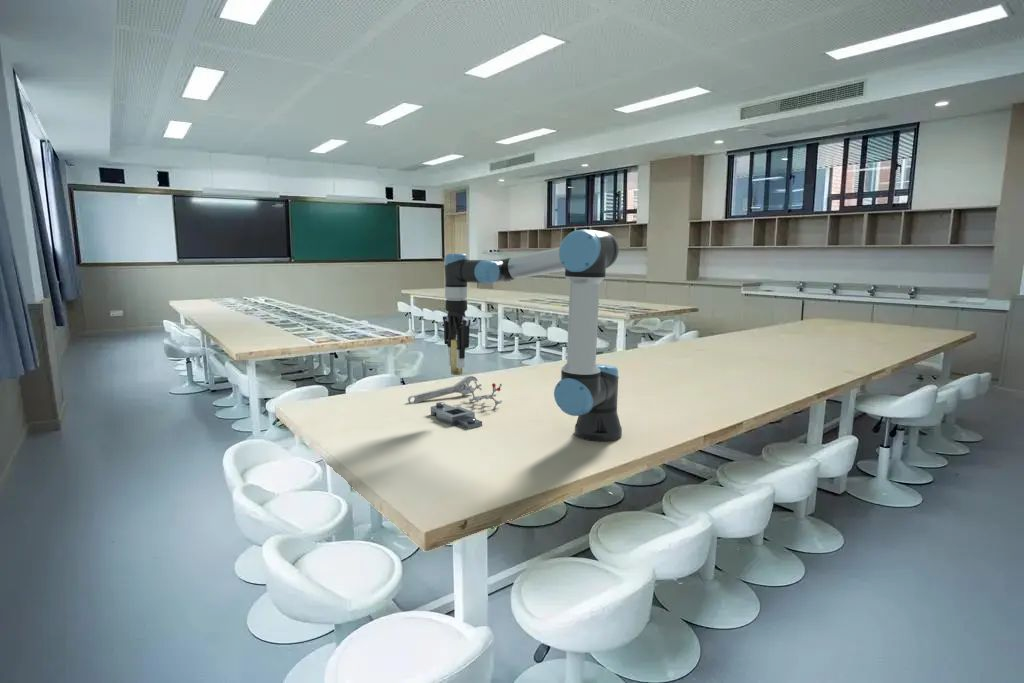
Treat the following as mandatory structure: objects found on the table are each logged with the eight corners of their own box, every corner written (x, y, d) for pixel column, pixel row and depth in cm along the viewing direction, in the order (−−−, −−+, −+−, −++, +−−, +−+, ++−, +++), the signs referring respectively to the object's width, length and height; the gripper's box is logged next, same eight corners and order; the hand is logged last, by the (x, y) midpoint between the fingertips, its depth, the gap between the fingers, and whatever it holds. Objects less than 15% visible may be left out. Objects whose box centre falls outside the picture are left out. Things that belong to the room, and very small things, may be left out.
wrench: (409, 410, 218) (477, 392, 231) (410, 411, 216) (479, 393, 230) (406, 390, 216) (475, 373, 230) (407, 391, 214) (477, 374, 228)
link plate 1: (474, 420, 194) (474, 409, 193) (452, 425, 188) (452, 414, 187) (448, 410, 206) (448, 400, 205) (426, 415, 200) (426, 404, 199)
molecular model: (458, 402, 218) (458, 377, 218) (480, 400, 224) (481, 376, 223) (483, 412, 202) (484, 385, 202) (506, 409, 208) (507, 383, 207)
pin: (464, 373, 192) (464, 339, 190) (455, 375, 189) (455, 341, 187) (458, 371, 195) (457, 338, 193) (448, 373, 192) (448, 339, 190)
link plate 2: (486, 424, 189) (486, 417, 189) (463, 430, 183) (463, 423, 183) (458, 414, 201) (458, 407, 201) (436, 419, 195) (436, 412, 195)
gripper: (480, 300, 184) (480, 369, 188) (451, 296, 197) (451, 361, 201) (461, 301, 179) (462, 372, 183) (433, 297, 192) (434, 363, 196)
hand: (456, 366), depth 192 cm, fingers closed on pin, 4 cm apart
